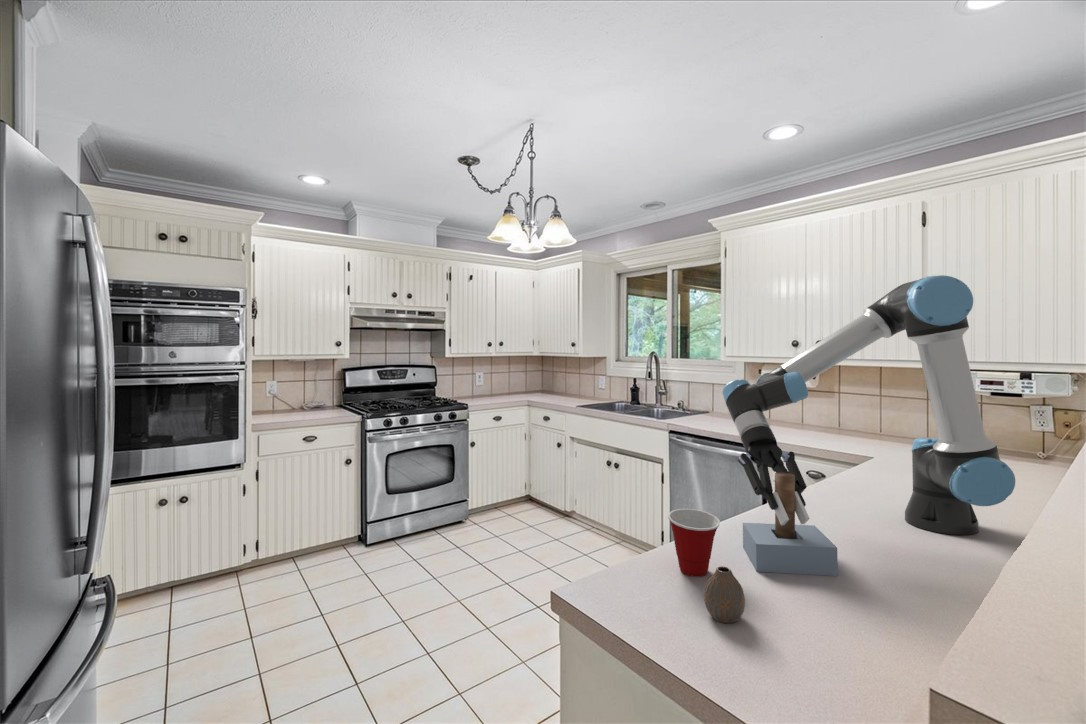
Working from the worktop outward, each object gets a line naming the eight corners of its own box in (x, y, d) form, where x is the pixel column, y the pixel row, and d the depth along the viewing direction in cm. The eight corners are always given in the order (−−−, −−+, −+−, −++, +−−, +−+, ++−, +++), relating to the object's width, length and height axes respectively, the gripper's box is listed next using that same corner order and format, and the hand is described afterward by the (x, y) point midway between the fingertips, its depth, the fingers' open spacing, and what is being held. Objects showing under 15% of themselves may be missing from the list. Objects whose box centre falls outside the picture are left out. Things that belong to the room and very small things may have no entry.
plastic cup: (699, 588, 98) (699, 529, 98) (658, 569, 107) (657, 515, 107) (731, 573, 105) (730, 517, 104) (690, 556, 114) (689, 505, 113)
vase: (749, 630, 84) (748, 579, 83) (706, 626, 85) (706, 576, 85) (741, 608, 90) (740, 562, 90) (702, 605, 92) (701, 559, 92)
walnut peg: (791, 537, 112) (791, 472, 111) (797, 544, 108) (797, 477, 107) (773, 536, 112) (772, 472, 112) (778, 543, 109) (777, 476, 108)
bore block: (814, 550, 115) (814, 525, 115) (837, 576, 102) (837, 547, 102) (742, 547, 118) (742, 522, 118) (756, 571, 105) (756, 543, 105)
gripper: (781, 440, 126) (824, 527, 110) (717, 442, 124) (751, 531, 108) (794, 423, 120) (840, 512, 104) (727, 425, 119) (764, 515, 103)
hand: (795, 521), depth 106 cm, fingers closed on walnut peg, 4 cm apart
